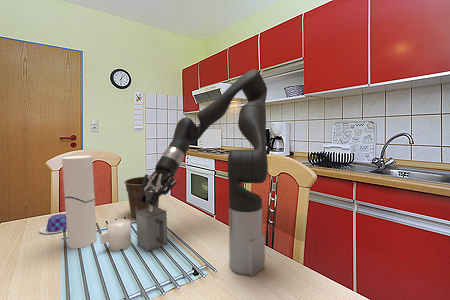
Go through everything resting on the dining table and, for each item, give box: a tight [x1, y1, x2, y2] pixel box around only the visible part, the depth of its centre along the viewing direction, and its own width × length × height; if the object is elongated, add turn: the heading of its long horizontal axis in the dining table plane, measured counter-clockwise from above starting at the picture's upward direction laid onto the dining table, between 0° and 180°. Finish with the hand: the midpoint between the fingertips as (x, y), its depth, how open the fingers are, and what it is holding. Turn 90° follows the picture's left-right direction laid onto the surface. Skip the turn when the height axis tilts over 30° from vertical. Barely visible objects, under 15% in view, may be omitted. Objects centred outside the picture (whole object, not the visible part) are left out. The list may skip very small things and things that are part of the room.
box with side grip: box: [135, 206, 168, 253], centre depth 77 cm, size 10×7×12 cm
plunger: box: [145, 189, 155, 213], centre depth 78 cm, size 5×5×16 cm
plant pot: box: [123, 176, 160, 219], centre depth 106 cm, size 16×16×16 cm
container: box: [61, 155, 98, 250], centre depth 79 cm, size 9×9×30 cm
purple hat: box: [39, 213, 67, 235], centre depth 92 cm, size 12×12×5 cm
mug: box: [99, 218, 132, 252], centre depth 76 cm, size 7×9×8 cm
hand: (146, 202), depth 75 cm, fingers closed on plunger, 3 cm apart
